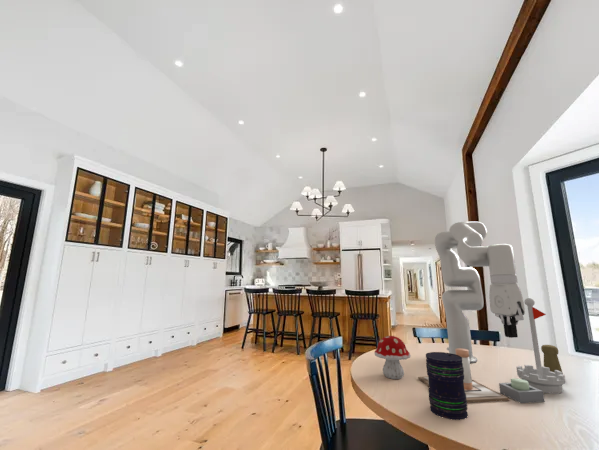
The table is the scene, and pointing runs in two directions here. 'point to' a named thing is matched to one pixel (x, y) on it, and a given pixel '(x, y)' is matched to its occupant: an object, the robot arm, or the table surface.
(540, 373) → the flag stand
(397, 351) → the decorative mushroom
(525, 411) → the table surface
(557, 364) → the cork
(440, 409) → the navy striped cylinder
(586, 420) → the table surface
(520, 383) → the button
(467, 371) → the marker
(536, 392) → the button housing
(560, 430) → the table surface
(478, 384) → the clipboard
